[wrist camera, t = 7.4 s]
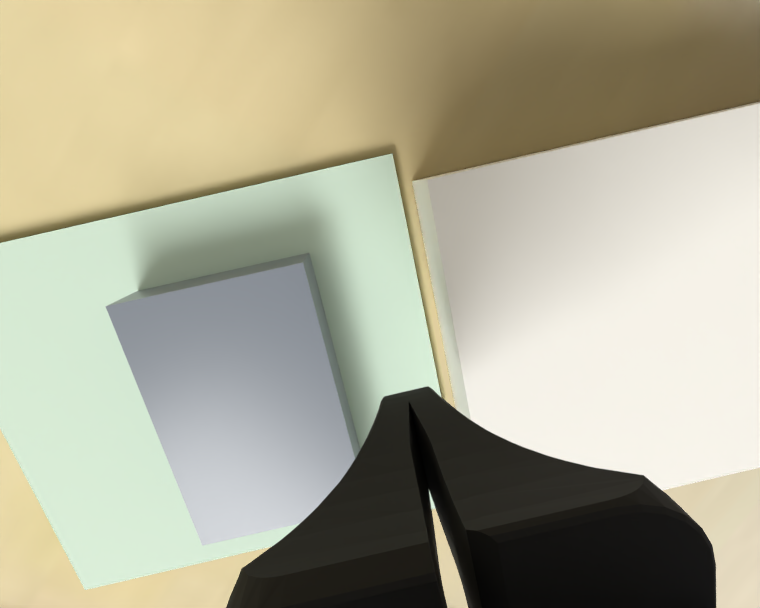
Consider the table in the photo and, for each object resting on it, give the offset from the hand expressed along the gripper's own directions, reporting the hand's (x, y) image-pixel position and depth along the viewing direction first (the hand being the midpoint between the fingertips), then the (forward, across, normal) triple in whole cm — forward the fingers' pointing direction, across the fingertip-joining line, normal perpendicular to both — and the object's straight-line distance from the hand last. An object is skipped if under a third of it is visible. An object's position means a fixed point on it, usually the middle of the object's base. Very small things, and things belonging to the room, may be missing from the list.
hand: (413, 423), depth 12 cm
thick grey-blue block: (+3, +5, 0) cm, 6 cm away
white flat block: (+5, -9, 0) cm, 10 cm away
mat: (+5, +7, 0) cm, 8 cm away
